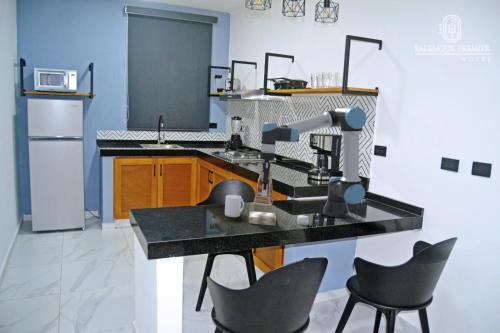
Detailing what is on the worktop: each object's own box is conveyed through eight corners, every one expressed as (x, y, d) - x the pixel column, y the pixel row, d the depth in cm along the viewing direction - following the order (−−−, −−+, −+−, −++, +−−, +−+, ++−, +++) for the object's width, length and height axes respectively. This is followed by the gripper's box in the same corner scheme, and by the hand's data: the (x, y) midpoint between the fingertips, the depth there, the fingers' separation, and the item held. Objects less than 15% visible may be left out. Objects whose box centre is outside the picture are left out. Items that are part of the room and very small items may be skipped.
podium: (274, 218, 228) (274, 212, 228) (275, 225, 214) (276, 219, 214) (249, 216, 228) (249, 210, 228) (248, 223, 214) (249, 217, 214)
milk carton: (270, 206, 215) (273, 168, 212) (253, 203, 217) (256, 166, 214) (272, 202, 224) (276, 166, 221) (256, 200, 226) (259, 164, 223)
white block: (307, 222, 225) (308, 215, 224) (308, 225, 219) (309, 218, 219) (296, 222, 225) (297, 214, 225) (297, 225, 219) (298, 217, 219)
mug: (248, 215, 230) (249, 197, 228) (230, 218, 222) (232, 198, 221) (238, 212, 236) (239, 194, 235) (221, 214, 229) (222, 195, 227)
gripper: (260, 149, 227) (256, 190, 230) (260, 153, 206) (256, 197, 209) (273, 150, 227) (270, 191, 230) (275, 154, 206) (271, 198, 209)
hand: (263, 194), depth 219 cm, fingers closed on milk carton, 9 cm apart
